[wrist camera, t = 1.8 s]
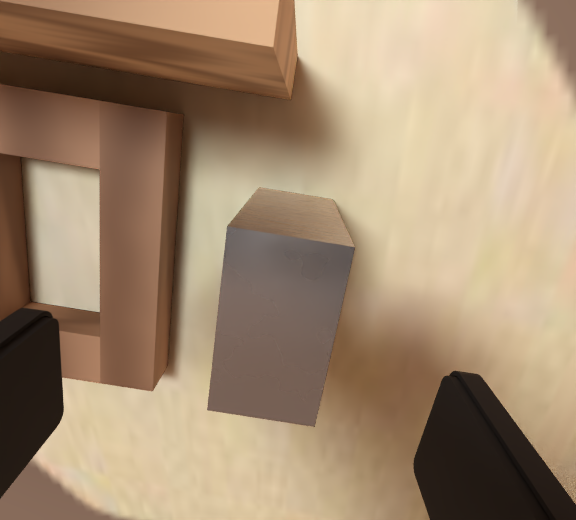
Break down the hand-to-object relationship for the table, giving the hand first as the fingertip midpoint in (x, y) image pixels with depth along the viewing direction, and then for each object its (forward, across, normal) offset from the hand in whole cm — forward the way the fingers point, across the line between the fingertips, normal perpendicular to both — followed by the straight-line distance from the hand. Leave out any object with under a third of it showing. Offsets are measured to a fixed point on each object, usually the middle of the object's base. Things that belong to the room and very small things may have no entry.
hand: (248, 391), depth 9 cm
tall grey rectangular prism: (+13, -1, +1) cm, 13 cm away
